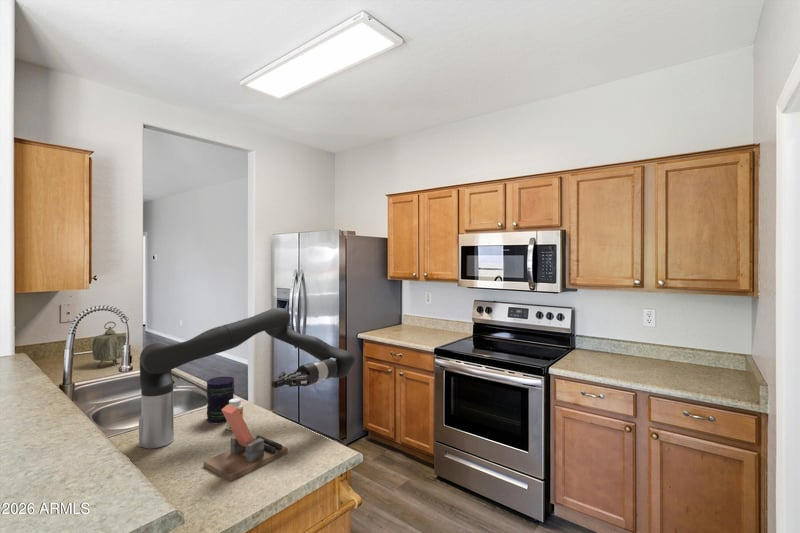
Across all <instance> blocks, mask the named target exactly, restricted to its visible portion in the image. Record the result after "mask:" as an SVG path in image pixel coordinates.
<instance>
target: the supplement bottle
mask: <svg viewBox="0 0 800 533" xmlns="http://www.w3.org/2000/svg"><path fill="white" fill-rule="evenodd" d="M241 402H242V401H241V398H237V397H236V398H234V399H231V400H229V405H231V406H234V407H237V408H238V409H239V411H240V413H241V415H242V417H243V418H244V405H243V403H241ZM226 430H228V431H232V429H231V427H230V426H229V424H228V422H226Z"/></svg>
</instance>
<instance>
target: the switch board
mask: <svg viewBox="0 0 800 533" xmlns="http://www.w3.org/2000/svg"><path fill="white" fill-rule="evenodd" d="M253 439H254V441H252V442H250V443H247V444H246V447H244V446H242V445H240V444H239V443H238V441H237V439H236V437H235V435H233V436H231V437H230V449H229V450H227V451H224V452H222V453H220V454H218V455H215V456H213V457H210V458H209V459H206V460H204V461H203V467H204V468H206V469H207V470H209V471H212V472H213V473H215V474H216V475H219V476H221V477H223V478H224V479H225V480H228V481H229V482H233V481H235V480H237V479H239V478H241V477H243V476H244V475H247V474H248V473H251V472H252V470H253V471H254V470H255V471H256V468H257V469H258V467H259V468H261V467H262V465H263V466H264V464H265V465H267V464H268V462H269V463H270V461H271V462H273V461H274V459H275V460H276V459H278V458H280V457H283V456H284V455H286V454H288V453H289V448H288V447H286V446H284V445H283V444H282V443H279V442H276V441H274V440H271V439H269V438H267V437H265V436H262V435H259V434H258V435H256V436H255V438H254V437H253ZM272 460H273V461H272ZM266 463H267V464H266ZM260 466H261V467H260Z"/></svg>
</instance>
